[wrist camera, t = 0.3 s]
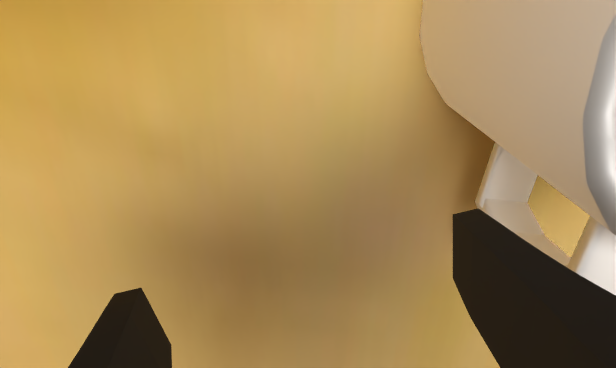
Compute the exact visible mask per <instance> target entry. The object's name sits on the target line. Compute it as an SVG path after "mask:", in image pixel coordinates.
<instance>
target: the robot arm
mask: <svg viewBox="0 0 616 368" xmlns="http://www.w3.org/2000/svg"><path fill="white" fill-rule="evenodd" d="M453 279H454V281H455V284H456V286H457V288H458V291H459V293H460V295H461V298H462V300H463V302H464V304H465V306H466V309H467V311H468V313H469V315H470V317H471V319H472V321H473V322H474V324H475V326H476V327H477V329H478V331H479V333H480V334H481V336H482V338H483V339H484V341H485V343H486V344H487V346H488V348H489V349H490V351H491V353H492V354H493V356H494V358H495V359H496V361H497V363H498V364H499V366H500V368H616V295H614V294H612V293H610V292H609V291H607V290H605V289H603V288H601V287H600V286H598V285H596V284H594V283H593V282H591V281H589V280H587V279H586V278H584V277H582V276H580V275H579V274H577V273H575V272H574V271H572V270H570V269H569V268H567V267H566V266H564V265H562V264H561V263H559V262H558V261H556V260H555V259H553V258H551V257H550V256H548V255H547V254H545V253H544V252H542V251H540V250H539V249H537V248H536V247H534V246H533V245H531V244H530V243H528V242H527V241H525V240H524V239H523V238H521V237H520V236H518V235H517V234H515V233H514V232H512V231H511V230H509V229H508V228H506V227H505V226H504V225H502V224H501V223H499V222H498V221H496V220H495V219H493V218H492V217H491V216H489V215H488V214H486V213H485V212H483V211H482V210H480V209H474V210H470V211H466V212H462V213H457V214H453ZM68 368H172V357H171V344H170V342H169V340H168V338H167V336H166V334H165V332H164V330H163V328H162V326H161V325H160V323H159V321H158V319H157V317H156V315H155V313H154V311H153V309H152V307H151V305H150V303H149V301H148V300H147V298H146V296H145V294H144V292H143V290H142V288H138V289H134V290H129V291H125V292H121V293H117V294H114V296H113V297H112V299H111V300H110V302H109V303H108V305H107V306H106V308H105V310H104V311H103V313H102V314H101V316H100V318H99V319H98V321H97V322H96V324H95V326H94V327H93V329H92V331H91V332H90V334H89V335H88V337H87V339H86V340H85V342H84V343H83V345H82V347H81V348H80V350H79V351H78V353H77V355H76V356H75V358H74V359H73V361H72V362H71V364H70V365H69V367H68Z"/></svg>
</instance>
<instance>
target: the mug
mask: <svg viewBox="0 0 616 368" xmlns="http://www.w3.org/2000/svg"><path fill="white" fill-rule="evenodd" d="M420 41H421V46H422V51H423V55H424V60H425V65H426V70H427V74H428V76H429V77H430V79H431V81H432V82H433V84H434V86H435V87H436V89H437V90H438V92H439V94H440V95H441V97H442V99H443V100H444V102H445V103H446V104H447V105H448V106H449V107H451V108H452V109H453V110H455V111H456V112H457V113H458V114H460V115H461V116H462V117H464V118H465V119H466V120H467V121H469V122H470V123H471V124H473V125H474V126H475V127H477V128H478V129H479V130H480V131H482V132H483V133H484V134H486V135H487V136H488V137H489V138H491V139H492V140H493V141H495V142H496V143H494V146H493V149H492V152H491V155H490V158H489V161H488V164H487V167H486V170H485V173H484V176H483V179H482V182H481V185H480V188H479V191H478V194H477V197H476V200H475V203H476V205H477V208H478V209H480V210H482V211H483V212H485V213H486V214H488V215H489V216H491V217H492V218H493V219H495V220H496V221H498V222H499V223H501V224H502V225H504V226H505V227H506V228H508V229H509V230H511V231H512V232H514V233H515V234H517V235H518V236H520V237H521V238H523V239H524V240H525V241H527V242H528V243H530V244H531V245H533V246H534V247H536V248H537V249H539V250H540V251H542V252H544V253H545V254H547V255H548V256H550V257H551V258H553V259H555V260H556V261H558V262H559V263H561V264H562V265H564V266H566V267H567V268H569V269H570V270H572V271H574V272H575V273H577V274H579V275H580V276H582V277H584V278H586V279H587V280H589V281H591V282H593V283H594V284H596V285H598V286H600V287H601V288H603V289H605V290H607V291H609V292H610V293H612V294H614V295H616V0H423V5H422V15H421V25H420ZM537 176H540V177H541V178H542V179H544V180H545V181H546V182H547V183H549V184H550V185H551V186H553V187H554V188H555V189H556V190H558V191H559V192H560V193H562V194H563V195H564V196H566V197H567V198H568V199H569V200H571V201H572V202H573V203H575V204H576V205H577V206H578V207H580V208H581V209H582V210H584V211H585V212H586V213H587V214H589V215H590V217H589V219H588V221H587V224H586V226H585V228H584V230H583V233H582V235H581V237H580V239H579V241H578V244H577V246H576V248H575V250H574V253H573V255H572V257H571V258H570V257H569V256H568V255H567V254H566V253H564V252H563V251H562V250H561V249H560V248H559V247H558V246H556V245H555V244H554V243H553V242H552V241H551V240H549V239H548V238H547V237H546V236H545V235H544V233H543V231H542V229H541V227H540V225H539V223H538V222H537V220H536V218H535V216H534V214H533V212H532V211H531V209H530V207H529V205H528V203H527V202H528V199H529V197H530V194H531V191H532V189H533V186H534V184H535V181H536V178H537Z"/></svg>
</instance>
